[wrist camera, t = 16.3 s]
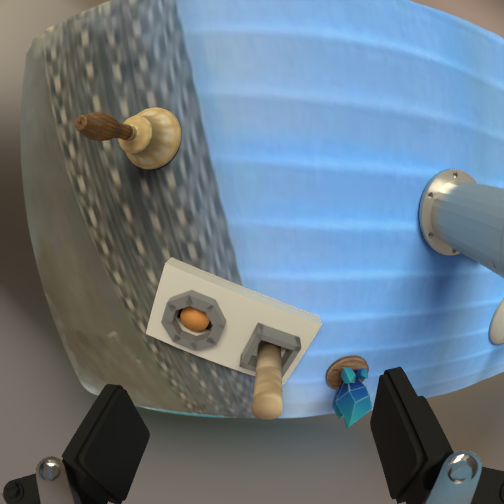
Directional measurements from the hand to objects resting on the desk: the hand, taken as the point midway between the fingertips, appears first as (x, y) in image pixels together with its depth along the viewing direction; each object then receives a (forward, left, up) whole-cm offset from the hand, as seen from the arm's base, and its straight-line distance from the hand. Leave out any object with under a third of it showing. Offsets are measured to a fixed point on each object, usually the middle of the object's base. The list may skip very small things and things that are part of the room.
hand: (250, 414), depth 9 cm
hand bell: (+18, -6, -29) cm, 34 cm away
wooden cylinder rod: (-7, +14, -26) cm, 30 cm away
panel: (-1, +14, -28) cm, 32 cm away
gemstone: (-22, +16, -28) cm, 39 cm away
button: (+4, +14, -28) cm, 31 cm away
